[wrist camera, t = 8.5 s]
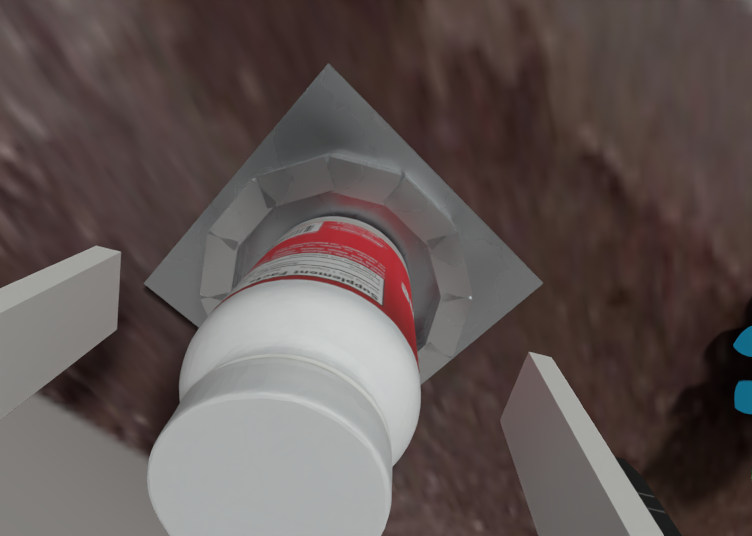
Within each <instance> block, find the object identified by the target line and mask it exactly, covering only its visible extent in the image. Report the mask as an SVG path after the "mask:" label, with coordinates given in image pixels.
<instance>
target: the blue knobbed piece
mask: <svg viewBox="0 0 752 536" xmlns="http://www.w3.org/2000/svg"><path fill="white" fill-rule="evenodd" d="M733 346H734V348H735V349H736V350H737V351H738V352H740V353H741V354H743V355H746V356H750V357H752V326H750V327H748V328H747V329H746V330H744V331H743V332H742V333H741V334H740V336H739V337H738V338H737V339H736V341H735V343H734V344H733ZM734 400H735V408H736V409H737V410H739V411H741V412H743V413H747V414H752V381H750V380H740V381H738V383H737V385H736V389H735V398H734ZM751 477H752V468H751Z"/></svg>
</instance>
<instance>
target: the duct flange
mask: <svg viewBox="0 0 752 536" xmlns="http://www.w3.org/2000/svg"><path fill="white" fill-rule="evenodd" d="M329 216H339V217H347V218H351V219H356V220H359V221H361V222H364V223H366V224H368V225H370V226H372V227H374V228H376V229H377V230H379V231H380V232H381V233H383V234H384V235H385V236H386V237H387V238H388V239H389V240H390V241H391V242H392V243H393V244H394V245H395V247H396V248H397V249H398V251H399V252H400V254H401V256H402V258H403V260H404V262H405V264H406V267H407V270H408V274H409V279H410V285H411V294H412V304H413V313H414V325H415V335H416V345H417V354H418V363H419V372H420V385H421V384H422V383H424V382H425V381H426V380H427V379H428V378H430V377H431V376H432V375H433V374H434V373H436V372H437V371H438V370H439V369H441V368H442V367H443V366H444V365H445V364H447V363H448V362H449V361H450V360H451V359H453V358H454V357H455V356H456V355H457V354H459V353H460V352H461V351H462V350H463V349H465V348H466V347H467V346H468V345H469V344H471V343H472V342H473V341H474V340H475V339H477V338H478V337H479V336H480V335H482V334H483V333H484V332H485V331H486V330H488V329H489V328H490V327H491V326H492V325H494V324H495V323H496V322H497V321H498V320H500V319H501V318H502V317H503V316H504V315H506V314H507V313H508V312H509V311H510V310H512V309H513V308H514V307H515V306H516V305H518V304H519V303H520V302H521V301H522V300H524V299H525V298H526V297H527V296H529V295H530V294H531V293H532V292H533V291H535V290H536V289H537V288H538V287H539V286H541V285H542V284H543V282H542V281H541V280H540V279H539V278H538V277H537V276H536V275H535V274H534V273H533V272H532V271H531V270H530V269H529V268H528V267H527V265H526V264H525V263H524V262H523V261H522V260H521V259H520V258H519V257H518V256H517V255H516V254H515V253H514V252H513V251H512V250H511V249H510V248H509V247H508V246H507V245H506V244H505V243H504V242H503V241H502V240H501V239H500V238H499V237H498V236H497V235H496V234H495V233H494V232H493V231H492V230H491V229H490V228H489V227H488V226H487V225H486V224H485V222H484V221H483V220H482V219H481V218H480V217H479V216H478V215H477V214H476V213H475V212H474V211H473V210H472V209H471V208H470V207H469V206H468V205H467V204H466V203H465V202H464V201H463V200H462V199H461V198H460V197H459V196H458V195H457V194H456V193H455V192H454V191H453V190H452V189H451V188H450V187H449V186H448V185H447V184H446V183H445V182H444V180H443V179H442V178H441V177H440V176H439V175H438V174H437V173H436V172H435V171H434V170H433V169H432V168H431V167H430V166H429V165H428V164H427V163H426V162H425V161H424V160H423V159H422V158H421V157H420V156H419V155H418V154H417V153H416V152H415V151H414V150H413V149H412V148H411V147H410V146H409V145H408V144H407V143H406V142H405V141H404V140H403V138H402V137H401V136H400V135H399V134H398V133H397V132H396V131H395V130H394V129H393V128H392V127H391V126H390V125H389V124H388V123H387V122H386V121H385V120H384V119H383V118H382V117H381V116H380V115H379V114H378V113H377V112H376V111H375V110H374V109H373V108H372V107H371V106H370V105H369V104H368V103H367V102H366V101H365V100H364V99H363V98H362V96H361V95H360V94H359V93H358V92H357V91H356V90H355V89H354V88H353V87H352V86H351V85H350V84H349V83H348V82H347V81H346V80H345V79H344V78H343V77H342V76H341V75H340V74H339V73H338V72H337V71H336V70H335V69H334V68H333V67H332V66H331V65H330V64H329V63H328V64H327V66H326V67H325V68H324V69H323V70H322V72H321V73H320V74H319V75H318V76H317V77H316V79H315V80H314V81H313V82H312V83H311V85H310V86H309V87H308V88H307V89H306V91H305V92H304V93H303V94H302V95H301V97H300V98H299V99H298V100H297V101H296V103H295V104H294V105H293V106H292V107H291V108H290V110H289V111H288V112H287V113H286V114H285V116H284V117H283V118H282V119H281V120H280V122H279V123H278V124H277V125H276V126H275V128H274V129H273V130H272V131H271V132H270V134H269V135H268V136H267V137H266V138H265V140H264V141H263V142H262V143H261V144H260V145H259V147H258V148H257V149H256V150H255V151H254V153H253V154H252V155H251V156H250V157H249V159H248V160H247V161H246V162H245V163H244V165H243V166H242V167H241V168H240V169H239V171H238V172H237V173H236V174H235V175H234V176H233V178H232V179H231V180H230V181H229V182H228V184H227V185H226V186H225V187H224V188H223V190H222V191H221V192H220V193H219V194H218V196H217V197H216V198H215V199H214V200H213V202H212V203H211V204H210V205H209V206H208V207H207V209H206V210H205V211H204V212H203V213H202V215H201V216H200V217H199V218H198V219H197V221H196V222H195V223H194V224H193V225H192V227H191V228H190V229H189V230H188V231H187V233H186V234H185V235H184V236H183V237H182V238H181V240H180V241H179V242H178V243H177V244H176V246H175V247H174V248H173V249H172V250H171V252H170V253H169V254H168V255H167V256H166V258H165V259H164V260H163V261H162V262H161V264H160V265H159V266H158V267H157V268H156V270H155V271H154V272H153V273H152V274H151V275H150V277H149V278H148V279H147V280H146V281H145V283H144V284H145V285H146V286H147V287H149V288H150V289H151V290H152V291H154V292H155V293H156V294H157V295H159V296H160V297H161V298H162V299H164V300H165V301H166V302H167V303H169V304H170V305H171V306H172V307H174V308H175V309H176V310H177V311H179V312H180V313H181V314H182V315H184V316H185V317H186V318H187V319H189V320H190V321H191V322H192V323H194V324H195V325H196V326H198V327H199V328H200V326H201V325H202V323H203V322H204V321H205V320H206V318H207V317H208V316H209V315H210V313H211V312H212V311H213V310H214V309H215V308H216V307H217V306H218V305H219V304H220V303H221V302H222V301H223V300H224V299H225V297H226V296H227V295H228V294H229V293H230V292H231V291H232V290H233V289H234V288H235V287H236V285H237V284H238V283H239V282H240V281H241V280H242V279H243V278H244V277H245V276H246V275H247V274H248V273H249V271H250V270H251V269H252V268H253V267H254V266H255V265H256V264H257V263H258V261H259V260H260V259H261V258H262V257H263V256H264V255H265V254H266V252H267V251H268V250H269V249H270V248H271V247H272V246H273V245H274V243H275V242H276V241H278V240H279V239H280V238H281V237H282V236H283V235H284V234H285V233H287V232H288V231H289V230H291V229H292V228H294V227H295V226H297V225H299V224H301V223H303V222H305V221H308V220H311V219H315V218H320V217H329Z"/></svg>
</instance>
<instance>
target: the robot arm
mask: <svg viewBox="0 0 752 536" xmlns="http://www.w3.org/2000/svg"><path fill="white" fill-rule="evenodd" d="M120 261H121V252H120V251H115V250H111V249H107V248H103V247H99V246H95V247H92V248H90V249H88V250H86V251H83V252H81V253H79V254H77V255H74V256H72V257H70V258H68V259H65V260H63V261H61V262H59V263H56V264H54V265H52V266H50V267H47V268H45V269H43V270H41V271H38V272H36V273H34V274H32V275H29V276H27V277H25V278H23V279H20V280H18V281H16V282H14V283H11V284H9V285H7V286H5V287H2V288H0V420H1V419H2V418H3V417H5V416H6V415H7V414H9V413H10V412H11V411H12V410H14V409H15V408H16V407H17V406H19V405H20V404H21V403H23V402H24V401H25V400H26V399H28V398H29V397H30V396H32V395H33V394H34V393H36V392H37V391H38V390H39V389H41V388H42V387H43V386H45V385H46V384H47V383H48V382H50V381H51V380H52V379H54V378H55V377H56V376H58V375H59V374H60V373H61V372H63V371H64V370H65V369H67V368H68V367H69V366H70V365H72V364H73V363H74V362H76V361H77V360H78V359H79V358H81V357H82V356H83V355H85V354H86V353H87V352H88V351H90V350H91V349H92V348H94V347H95V346H96V345H97V344H99V343H100V342H101V341H103V340H104V339H105V338H106V337H108V336H109V335H110V334H112V333H113V332H114V331H115V330H117V318H118V299H119V280H120ZM500 422H501V425H502V428H503V431H504V434H505V437H506V440H507V443H508V446H509V449H510V452H511V455H512V458H513V461H514V464H515V467H516V470H517V473H518V476H519V479H520V482H521V485H522V488H523V491H524V494H525V497H526V500H527V503H528V506H529V509H530V512H531V515H532V518H533V521H534V524H535V527H536V530H537V533H538V536H682V535H681V534H680V532H679V531H678V529H677V528H676V526H675V525H674V523H673V522H672V520H671V519H670V517H669V516H668V514H665V510H664V508H663V507H662V505H661V504H660V502H659V501H658V499H656V498H654V494H653V492H652V491H651V489H650V488H649V486H648V485H647V483H646V482H645V480H644V479H643V477H642V476H641V475H640V474H639V473H638V472H637V471H636V470H635V469H634V468H633V467H632V466H630V465H629V464H628V463H627V462H626V461H625V460H624V459H621V458H617V457H614V455H613V454H612V452H611V451H610V449H609V448H608V446H607V444H606V443H605V441H604V440H603V438H602V436H601V435H600V433H599V432H598V430H597V429H596V427H595V425H594V424H593V422H592V421H591V419H590V417H589V416H588V414H587V413H586V411H585V410H584V408H583V406H582V405H581V403H580V402H579V400H578V398H577V397H576V395H575V394H574V392H573V391H572V389H571V387H570V386H569V384H568V383H567V381H566V379H565V378H564V376H563V375H562V373H561V372H560V370H559V368H558V367H557V365H556V364H555V362H554V360H553V359H552V357H548V356H544V355H540V354H536V353H532V352H528V355H527V357H526V359H525V362H524V364H523V367H522V369H521V371H520V374H519V376H518V379H517V381H516V383H515V386H514V388H513V390H512V393H511V395H510V398H509V400H508V402H507V405H506V407H505V410H504V412H503V414H502V417H501V419H500Z"/></svg>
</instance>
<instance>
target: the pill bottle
mask: <svg viewBox="0 0 752 536" xmlns="http://www.w3.org/2000/svg"><path fill="white" fill-rule="evenodd" d="M179 399H180V404H179V405H178V407H177V409H176V411H175V412H174V414H173V415H172V417H171V418H170V420H169V421H168V423H167V424H166V425H165V427H164V429H163V430H162V432H161V433H160V435H159V437H158V438H157V440H156V442H155V443H154V446H153V448H152V451H151V454H150V457H149V461H148V467H147V486H148V493H149V497H150V500H151V503H152V506H153V508H154V510H155V512H156V515H157V516H158V519H159V520H160V522H161V523H162V525H163V526H164V528H165V530H166V531H167V533H168V534H169V535H170V536H381V534H382V532H383V530H384V529H385V526H386V522H387V520H388V516H389V512H390V507H391V496H392V467H393V466H394V465H395V463H396V462H397V461H398V460H399V459H400V457H401V456H402V454H403V453H404V451H405V450H406V448H407V446H408V445H409V443H410V441H411V438H412V436H413V434H414V431H415V428H416V425H417V422H418V417H419V412H420V402H421V390H420V372H419V363H418V354H417V345H416V335H415V325H414V313H413V304H412V294H411V285H410V279H409V274H408V270H407V267H406V264H405V262H404V260H403V258H402V256H401V254H400V252H399V251H398V249H397V248H396V247H395V245H394V244H393V243H392V242H391V241H390V240H389V239H388V238H387V237H386V236H385V235H384V234H383V233H381V232H380V231H379V230H377V229H376V228H374V227H372V226H370V225H368V224H366V223H364V222H361V221H359V220H356V219H351V218H347V217H339V216H329V217H320V218H315V219H311V220H308V221H305V222H303V223H301V224H299V225H297V226H295V227H294V228H292V229H291V230H289V231H288V232H287V233H285V234H284V235H283V236H282V237H281V238H280V239H279V240H278V241H276V242H275V243H274V245H273V246H272V247H271V248H270V249H269V250H268V251H267V252H266V254H265V255H264V256H263V257H262V258H261V259H260V260H259V261H258V263H257V264H256V265H255V266H254V267H253V268H252V269H251V270H250V271H249V273H248V274H247V275H246V276H245V277H244V278H243V279H242V280H241V281H240V282H239V283H238V284H237V285H236V287H235V288H234V289H233V290H232V291H231V292H230V293H229V294H228V295H227V296H226V297H225V299H224V300H223V301H222V302H221V303H220V304H219V305H218V306H217V307H216V308H215V309H214V310H213V311H212V312H211V313H210V315H209V316H208V317H207V318H206V320H205V321H204V322H203V323H202V325H201V326H200V328H199V329H198V330H197V332H196V334H195V335H194V337H193V338H192V340H191V342H190V344H189V346H188V349H187V352H186V354H185V357H184V360H183V364H182V368H181V373H180V380H179Z"/></svg>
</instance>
